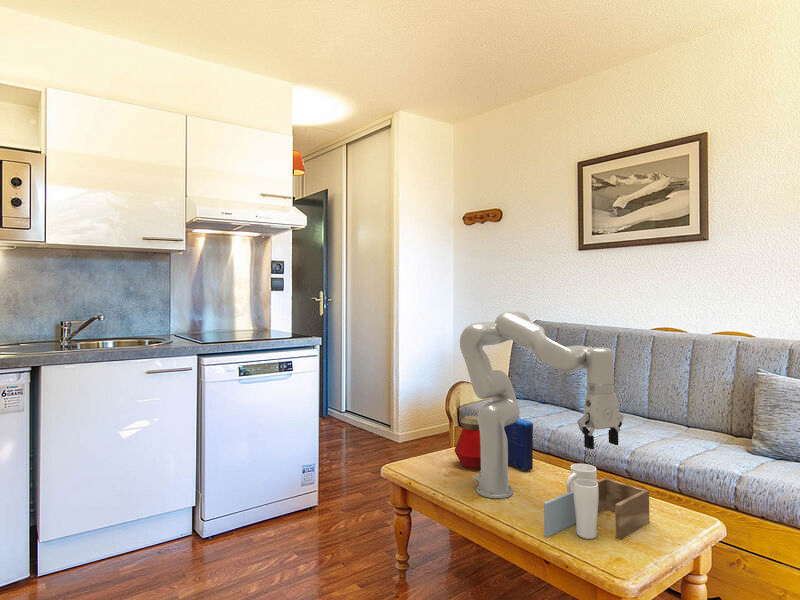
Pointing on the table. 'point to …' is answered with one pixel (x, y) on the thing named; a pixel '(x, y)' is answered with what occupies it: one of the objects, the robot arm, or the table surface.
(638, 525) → the u-shaped wooden frame
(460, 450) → the red faceted jar
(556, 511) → the thin blue-gray plank
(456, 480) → the table surface
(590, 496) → the drinking glass
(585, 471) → the mug
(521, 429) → the book
